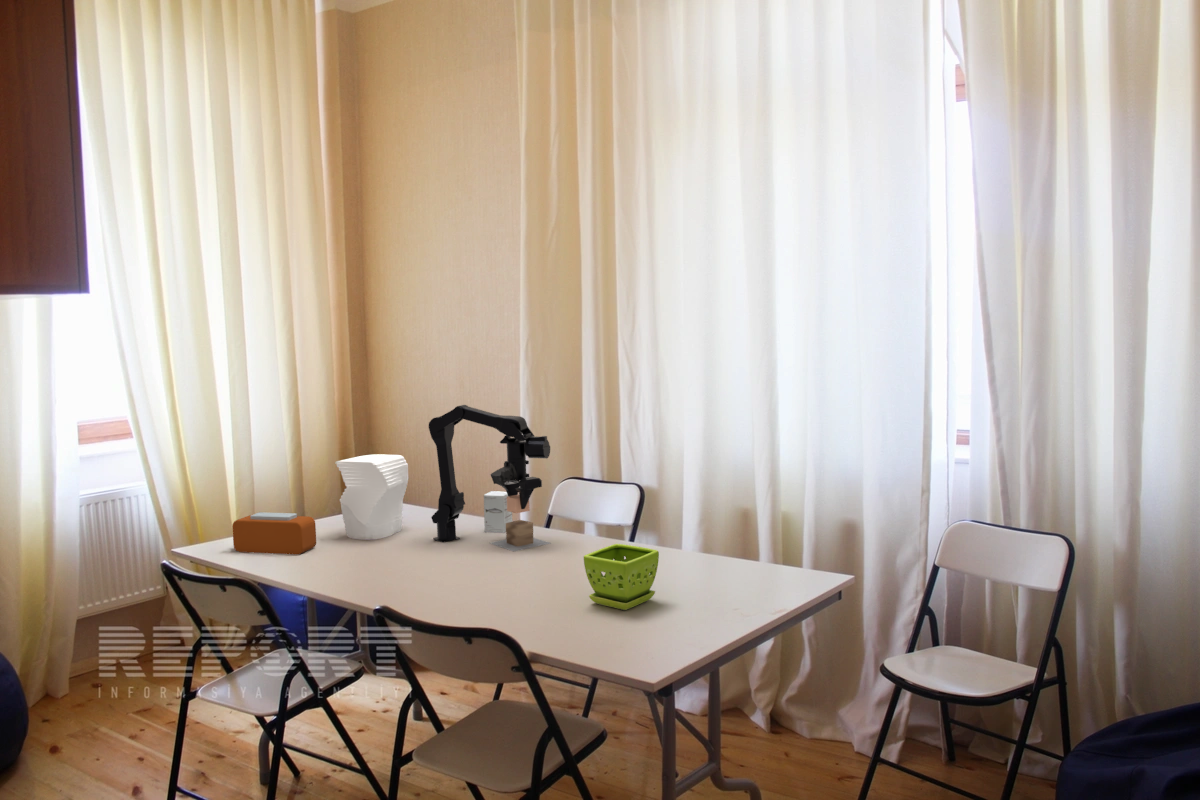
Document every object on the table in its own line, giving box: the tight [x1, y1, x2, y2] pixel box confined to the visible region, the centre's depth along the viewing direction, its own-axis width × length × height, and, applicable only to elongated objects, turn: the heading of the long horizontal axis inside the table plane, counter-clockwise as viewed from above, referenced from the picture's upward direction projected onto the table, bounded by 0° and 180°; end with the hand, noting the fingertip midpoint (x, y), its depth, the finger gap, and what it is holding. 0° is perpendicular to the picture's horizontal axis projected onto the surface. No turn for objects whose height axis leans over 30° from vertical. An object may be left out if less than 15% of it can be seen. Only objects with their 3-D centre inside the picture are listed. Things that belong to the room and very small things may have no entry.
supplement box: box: [483, 490, 513, 534], centre depth 307 cm, size 7×7×13 cm
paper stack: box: [334, 453, 410, 541], centre depth 306 cm, size 21×27×26 cm
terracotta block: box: [507, 494, 531, 514], centre depth 288 cm, size 5×5×4 cm
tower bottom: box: [505, 532, 534, 547], centre depth 289 cm, size 6×6×3 cm
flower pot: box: [583, 543, 660, 611], centre depth 228 cm, size 14×14×13 cm
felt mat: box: [489, 537, 552, 552], centre depth 289 cm, size 14×14×1 cm
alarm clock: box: [232, 511, 317, 556], centre depth 289 cm, size 24×8×11 cm, turn 76°
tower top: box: [505, 519, 534, 536], centre depth 289 cm, size 6×6×3 cm
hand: (518, 507), depth 288 cm, fingers closed on terracotta block, 5 cm apart
